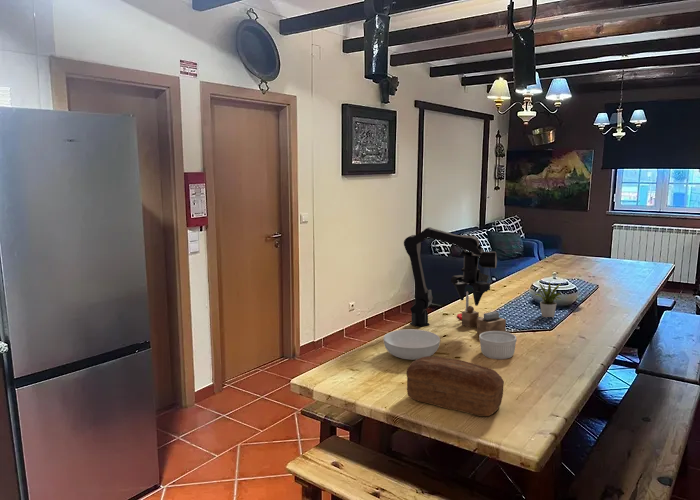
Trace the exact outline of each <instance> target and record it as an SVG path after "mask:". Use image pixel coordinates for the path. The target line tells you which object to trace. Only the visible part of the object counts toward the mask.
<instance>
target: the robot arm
mask: <svg viewBox="0 0 700 500" xmlns="http://www.w3.org/2000/svg"><path fill="white" fill-rule="evenodd" d="M428 238H429V239H433V240H436V241H440V242H444V243H449V244H451V245H455V246H457V247H459V248H461V249H462V251H461V252H460V253H459V254H458V256H460V257H461V256H462V257H463V268H461V269H460V271H461V272H463V274H458V275H453V276H451V278H450V283H452V285H453V286H454V289H455V291H456V292H457V295H458V296H459V299H460V301H464V297H465V290H466V289H465V288H466V287H467V286H471V287H472V291H471V292H472V297H473V301H474V306H476V307H478V306H479V304H480V302H481V299H482V296H483V295H484V293H486V292H488V291H490V290H491V284H490V283H488V280H489V276H490V275H488V274H486V273H482V272H481V270H480V269H479V266H480V267H481V268H484V269H496V268H497V265H498V258H497V252H496V251H485V250H484V248H483V247H482V246H481V244H480V240H479V239H480V238H479V237H477V236H475V235H467V234H466V235H463V234H455V233H453V232H452V233H451V232H447V231H445V230H444V231H443V230H440V229H435V228H433V227H426V228H424V229H423V231H421V232H420V231H419V233H417V234H412V235H409V236H408V237H406V238H405V239H404V241H403V246H404V249H405V252H406V254H407V255H408V256H409V260H410V264H411V270H412V275H413V279H414V284H415V296H414V299H415V301H414V304H413V305H412V306H411V307H410V308H409V309H410V312H411V321H410V322H409V325H411V326H414V327H417V328H420V327H425V326H426V327H427V326H429V325H430V323H429V314H428V310H427V309H428V307H430V306H431V304H432V302H433V299H434V297H433V295H432V289H428V287H427V284H426V279H425V274H424V269H423V264H422V260H421V259H422V258H421V248H422V247H421V245H422V244H421V243H422V242H424V241H425V240H427V239H428ZM478 265H479V266H478Z"/></svg>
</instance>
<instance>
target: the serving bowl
mask: <svg viewBox="0 0 700 500" xmlns="http://www.w3.org/2000/svg"><path fill="white" fill-rule="evenodd" d="M382 340H383V344H384V347H385V349H386V350H387V352H388V353H389V354H390V355H392V356H394V357H396V358H398V359H399V358H400V359H403V360H409V361H410V360H413V361H415V360H417V359H419V358H422V357H426V356H430V357H432V356H433V355H434V354H435V353H436V352H437V351H438V350H439V347H440V343H441V337H440V336H439V335H438V334H436V333H434V332H432V331H428V330H425V329H423V330H422V329H416V328H415V329H413V328H407V329H406V328H405V329H397V330H393V331H390V332H388V333H385V334H384V335H383V337H382Z"/></svg>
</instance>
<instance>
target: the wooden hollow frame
mask: <svg viewBox="0 0 700 500" xmlns="http://www.w3.org/2000/svg"><path fill="white" fill-rule="evenodd" d="M461 313H462V320H461V325H462V326H464V327H466V328H474V327H476V334H479V335H480V334H481V333H483V332H488V331H503V332H507V331H506V326H507V325H506V324H507V319H505V318H502V317H500V316H499V319H498V320H494V321H489V322H487V321H484V317H481V316H479V315H480V313H479V312H478V311H475V310H474V307H473V305H469V306H468V307H467V311H465V310H463V311H462V310H461Z"/></svg>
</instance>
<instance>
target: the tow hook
mask: <svg viewBox="0 0 700 500" xmlns="http://www.w3.org/2000/svg"><path fill="white" fill-rule="evenodd" d="M465 295H466V296H465V310H464V311H467V307H468V306H470V305H469V304H470V303H469V301H470V299H469V298H470V297H469V291H466V294H465ZM456 317H457V318H458V319H459V320H460V321H462V312H461V313H458V314H457V315H456Z"/></svg>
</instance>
